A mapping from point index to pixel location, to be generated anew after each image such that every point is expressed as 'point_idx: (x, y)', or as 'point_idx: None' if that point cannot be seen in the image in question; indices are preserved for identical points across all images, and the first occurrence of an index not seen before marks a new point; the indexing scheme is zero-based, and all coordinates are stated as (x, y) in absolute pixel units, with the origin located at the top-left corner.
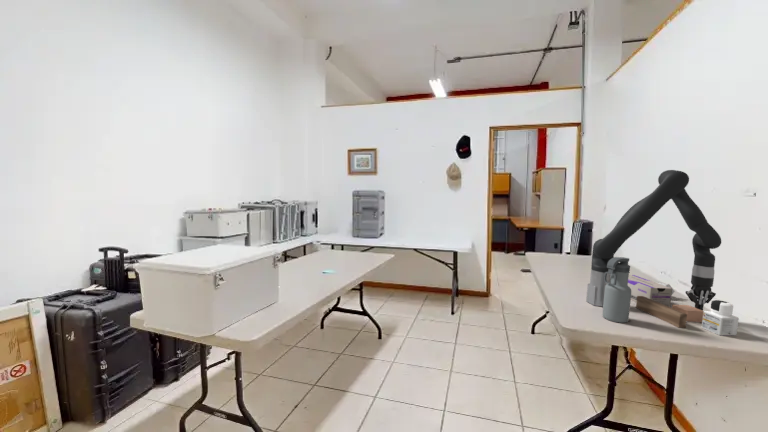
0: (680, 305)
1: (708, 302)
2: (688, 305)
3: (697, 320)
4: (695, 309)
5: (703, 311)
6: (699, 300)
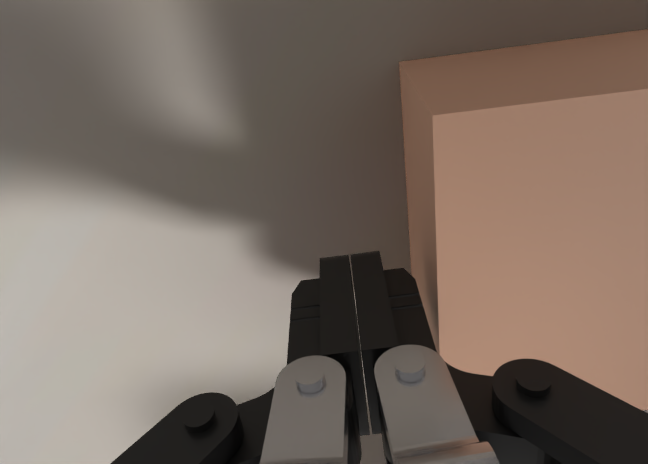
0: (643, 385)
1: (178, 413)
2: None
3: (518, 49)
4: (546, 214)
5: (465, 110)
6: (460, 430)
